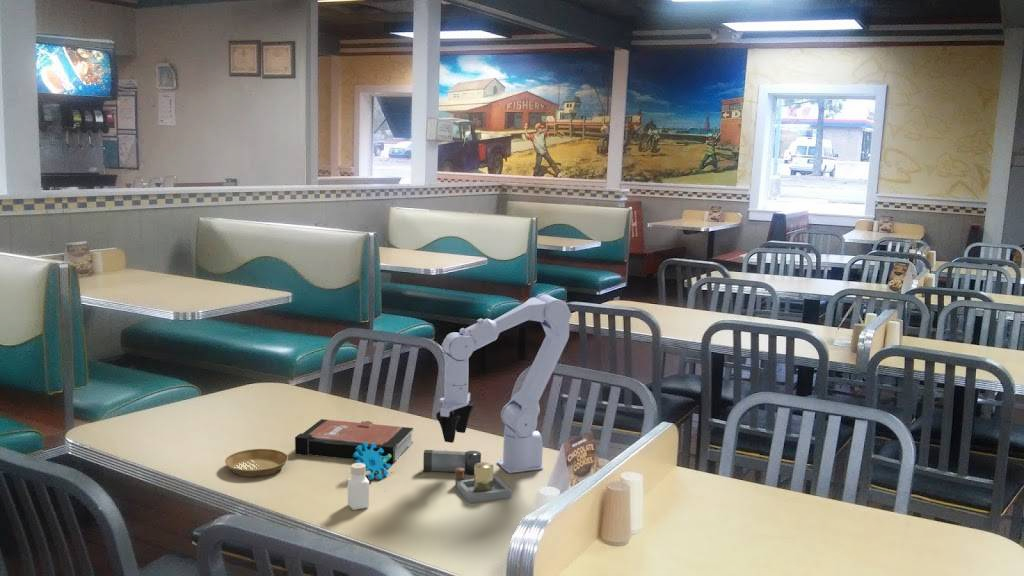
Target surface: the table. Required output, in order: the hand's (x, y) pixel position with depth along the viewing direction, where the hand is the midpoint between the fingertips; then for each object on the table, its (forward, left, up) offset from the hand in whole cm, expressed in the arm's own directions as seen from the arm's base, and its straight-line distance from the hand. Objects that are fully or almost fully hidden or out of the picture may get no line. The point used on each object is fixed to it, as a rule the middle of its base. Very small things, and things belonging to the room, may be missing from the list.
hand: (455, 436), depth 213 cm
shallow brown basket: (+44, -19, -10) cm, 49 cm away
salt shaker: (+26, +11, -10) cm, 30 cm away
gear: (+19, -5, -10) cm, 22 cm away
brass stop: (-3, +13, -9) cm, 16 cm away
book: (+18, -25, -10) cm, 33 cm away
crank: (0, -2, -9) cm, 9 cm away
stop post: (+1, +7, -9) cm, 12 cm away
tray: (-3, +13, -9) cm, 16 cm away
